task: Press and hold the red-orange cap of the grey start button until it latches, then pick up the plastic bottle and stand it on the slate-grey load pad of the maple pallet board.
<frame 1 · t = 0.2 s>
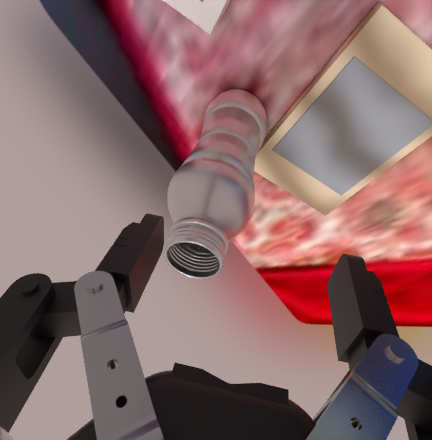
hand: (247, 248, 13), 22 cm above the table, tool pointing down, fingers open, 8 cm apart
pallet board: (344, 129, 31), on the table
plastic bottle: (238, 113, 32), on the table
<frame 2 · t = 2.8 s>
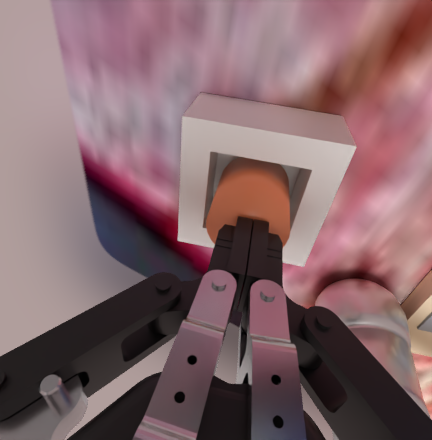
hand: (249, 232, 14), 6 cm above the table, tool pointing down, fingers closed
button cap: (250, 205, 16), point 4 cm above the table, slide at 0.2 cm, touching gripper
button housing: (256, 167, 19), on the table
plastic bottle: (351, 292, 25), on the table
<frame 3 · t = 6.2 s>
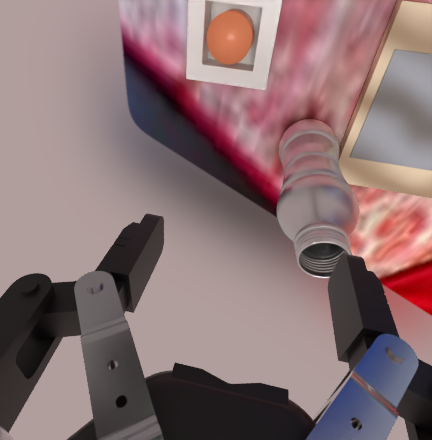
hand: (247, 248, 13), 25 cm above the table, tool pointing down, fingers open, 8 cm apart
button cap: (231, 36, 27), point 3 cm above the table, slide at 1.5 cm, touching button housing
button housing: (235, 32, 30), on the table
pallet board: (414, 111, 31), on the table
plastic bottle: (306, 139, 36), on the table
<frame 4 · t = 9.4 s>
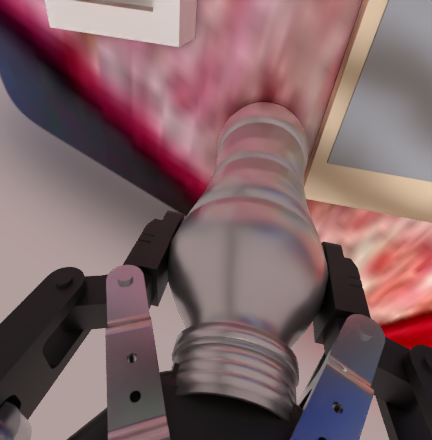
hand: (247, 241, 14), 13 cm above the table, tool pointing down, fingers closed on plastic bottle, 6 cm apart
pallet board: (428, 91, 20), on the table
plastic bottle: (263, 135, 24), on the table, touching gripper
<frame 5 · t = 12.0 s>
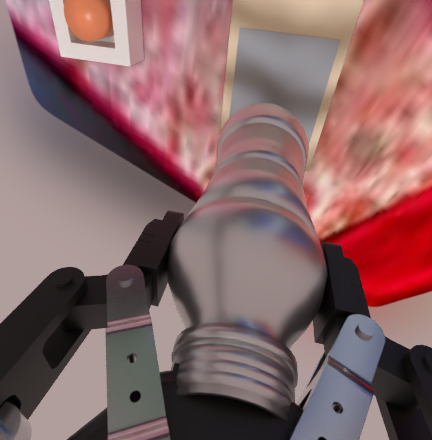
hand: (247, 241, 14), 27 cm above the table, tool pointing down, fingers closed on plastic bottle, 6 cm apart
button cap: (93, 16, 30), point 3 cm above the table, slide at 1.5 cm, touching button housing
button housing: (107, 14, 33), on the table
pallet board: (277, 87, 34), on the table
plastic bottle: (263, 136, 24), point 14 cm above the table, touching gripper
when the fingers open (16 cm above the table, at t = 14.7 s): plastic bottle drops 1 cm, resting on pallet board.
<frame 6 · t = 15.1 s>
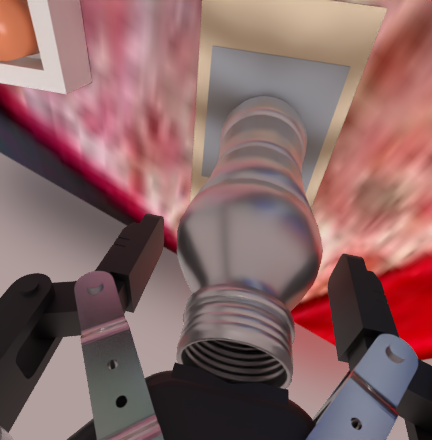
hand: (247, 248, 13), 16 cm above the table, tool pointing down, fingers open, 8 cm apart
button cap: (12, 26, 22), point 3 cm above the table, slide at 1.5 cm, touching button housing
button housing: (38, 23, 24), on the table
pallet board: (265, 123, 26), on the table
plastic bottle: (264, 129, 25), point 2 cm above the table, touching pallet board
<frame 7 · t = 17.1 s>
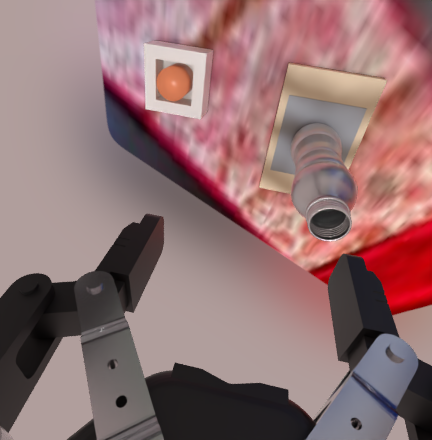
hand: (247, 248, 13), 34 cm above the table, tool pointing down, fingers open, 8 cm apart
button cap: (176, 81, 39), point 3 cm above the table, slide at 1.5 cm, touching button housing
button housing: (182, 77, 42), on the table
pallet board: (313, 137, 43), on the table
plastic bottle: (313, 141, 42), point 2 cm above the table, touching pallet board
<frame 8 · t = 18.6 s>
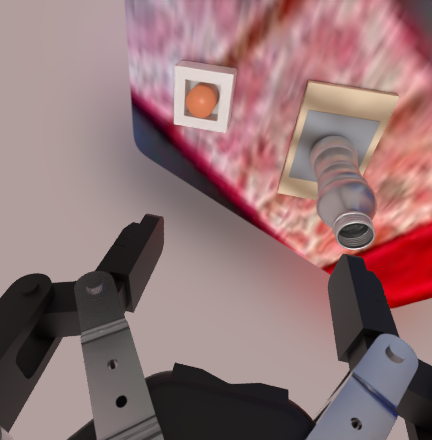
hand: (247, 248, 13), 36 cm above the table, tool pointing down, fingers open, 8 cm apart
button cap: (203, 99, 42), point 3 cm above the table, slide at 1.5 cm, touching button housing
button housing: (207, 93, 45), on the table
pallet board: (329, 147, 46), on the table
plastic bottle: (330, 151, 45), point 2 cm above the table, touching pallet board
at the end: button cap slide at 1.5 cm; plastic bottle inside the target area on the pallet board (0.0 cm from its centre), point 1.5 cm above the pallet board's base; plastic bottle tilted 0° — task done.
